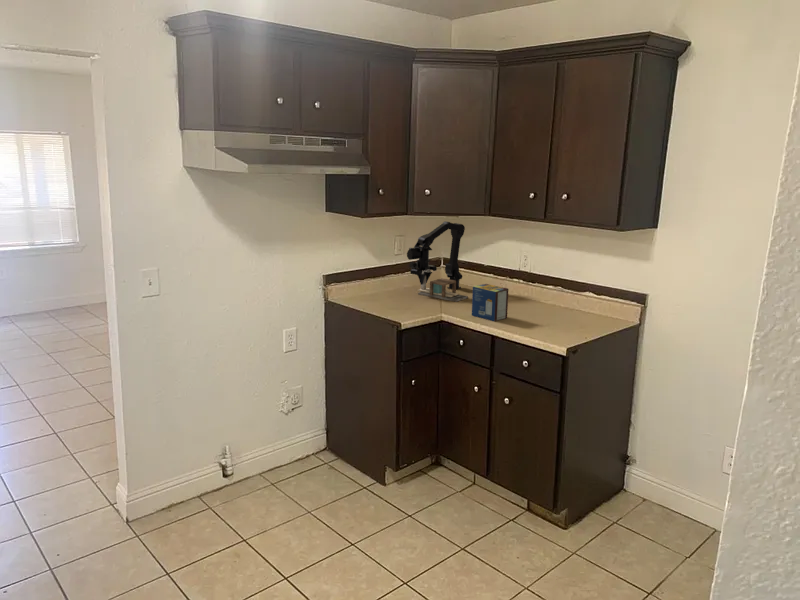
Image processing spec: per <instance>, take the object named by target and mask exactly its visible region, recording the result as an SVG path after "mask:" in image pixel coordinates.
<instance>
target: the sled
mask: <svg viewBox="0 0 800 600" xmlns="http://www.w3.org/2000/svg"><path fill="white" fill-rule="evenodd" d="M416 291H417V292H426V293H430V287H427V283H426V276H425V278H424V282H423V285H421V284H420V288H419V289H417V290H416ZM433 294H436V295H441V296H442V293H434V292H433ZM456 295H460V294H459V293H457V292H456V293H452V291H446V293H445V296H447V297H453V296H456Z"/></svg>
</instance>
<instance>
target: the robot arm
mask: <svg viewBox="0 0 800 600" xmlns="http://www.w3.org/2000/svg"><path fill="white" fill-rule="evenodd" d="M465 227H466V226H465V225H464V224H462V223H459V222H458V223H457V222H453V223H452V222H451V221H443V222H442V223H441V224H439V226H437V227H436V228H434V229H433V230H431V231H430V232H429V233H426V234H423V235H421V236H419V237H418V239H417V242H416V243H415V244H414V246H413V247H409V248H408V250H407V253H406V257H407V259H408V260H410V262H409V268H410V270H409V271H410V274H411V275H416V276H417V277H418V281H419V283H420V286H421V285H423V282H424V278H425V276H426V284H427V283H428V280H429V279H430V277H431V275H432V274H433V272H435V271H437V270H438V269H437V266H436V265H432V264H429V263H430V262H431V259H430V251H433V249H432V248H431V245H432V244H433V243H434V242H435V241H434V240H436V239H437V238H438V237H440V236H441V235H443V234H444V233H445V232H446V231H448V230H450V235H451V237H452V238H451V247H450V253H449V254H450V255H449V259H448V260H449V261H448V263H445V264H444V265H445V266H444V267H445V268H444V272H445V274H446V277H447V278H449V279H450V280H456V290H459V289H462V286H460V280H462V279H463V274H462V273H461V272H460V267H459V263H458V262H459V253H460V246H461V239H462V237H463V236H464V233H465V230H466V228H465ZM411 260H417V262H414V261H411ZM432 271H433V272H432ZM452 284H453V283H452ZM452 284H448V286H447V287H446V289H450V290H452Z"/></svg>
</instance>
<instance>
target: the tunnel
mask: <svg viewBox="0 0 800 600" xmlns="http://www.w3.org/2000/svg"><path fill="white" fill-rule="evenodd" d="M452 283H453V284H452ZM434 284H438V285H442V296H441V295H436V294H433V288H434ZM449 284H452V289H451V292H452V293H457V289H456V280H450V278H449V279H448V278H443V277H442V278H438V279H433V280H430V281H429V288H430V293H426V292H420V291H418V292H417V295H418V296H419V295H421V296H424V297H430V298H435V299H439V300H445V301H450V302H460V301H463V300H467V299H469V296H468V295H463V294H459V295H456V296H453V297H447V296H445V293H446V292H447V291H446V289H447V287H446V286H449Z"/></svg>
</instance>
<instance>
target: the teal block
mask: <svg viewBox="0 0 800 600" xmlns="http://www.w3.org/2000/svg"><path fill="white" fill-rule="evenodd" d="M433 292H434V293H442V285H438V284H434V288H433Z"/></svg>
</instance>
